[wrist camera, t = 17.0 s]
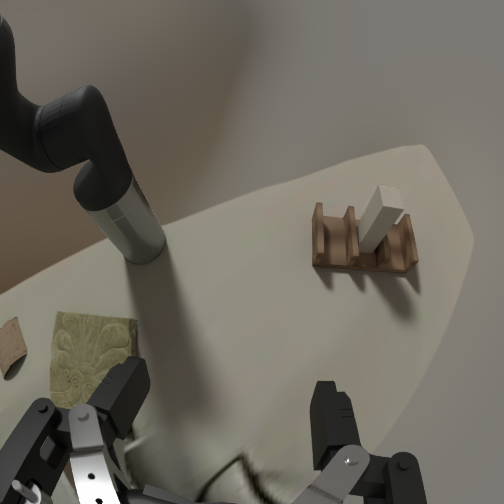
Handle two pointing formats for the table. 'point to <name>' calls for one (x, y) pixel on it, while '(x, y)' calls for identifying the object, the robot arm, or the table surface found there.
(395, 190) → the white rectangular block
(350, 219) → the drying rack
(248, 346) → the table surface
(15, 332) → the clay tablet
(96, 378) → the decorative tile
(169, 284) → the table surface
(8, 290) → the table surface
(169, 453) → the table surface
